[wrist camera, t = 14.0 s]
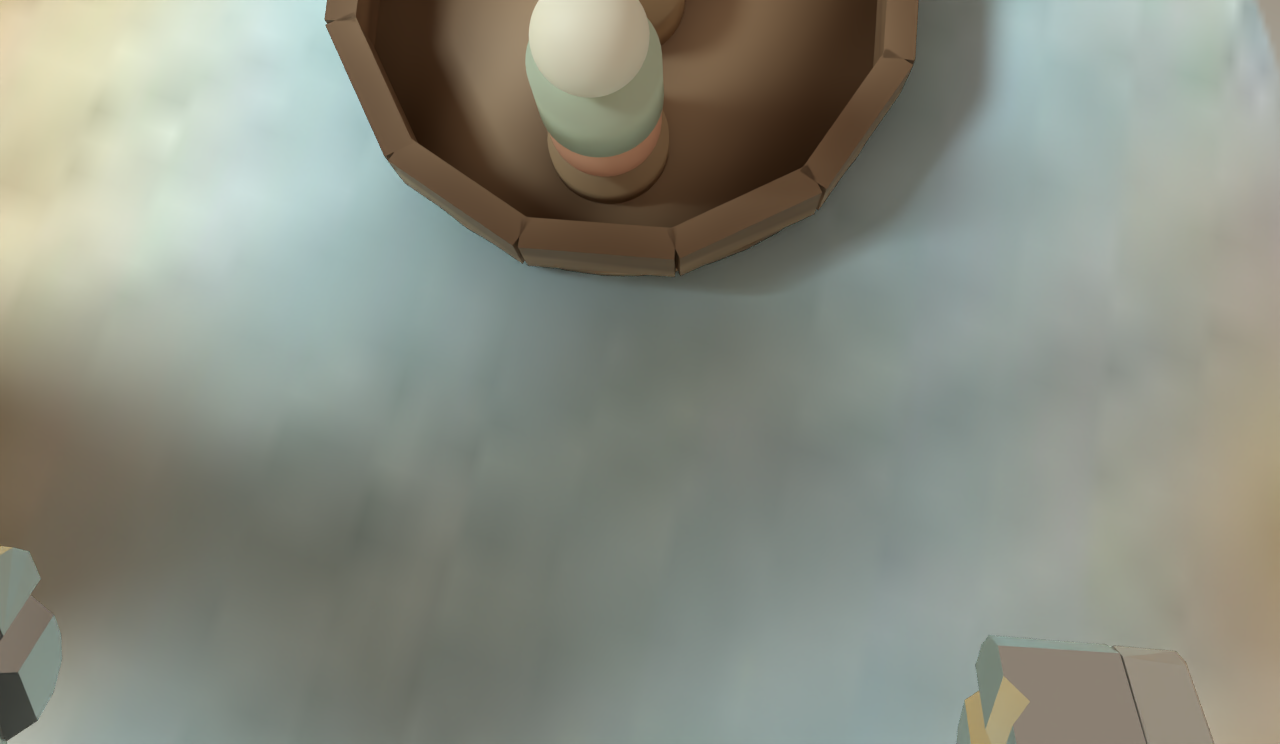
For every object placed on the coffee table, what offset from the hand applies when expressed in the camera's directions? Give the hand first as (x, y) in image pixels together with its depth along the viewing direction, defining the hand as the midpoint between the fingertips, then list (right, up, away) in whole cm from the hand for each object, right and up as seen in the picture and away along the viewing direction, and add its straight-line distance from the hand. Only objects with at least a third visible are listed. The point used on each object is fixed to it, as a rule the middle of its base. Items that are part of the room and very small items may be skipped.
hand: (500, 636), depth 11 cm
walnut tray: (+1, +15, +32) cm, 35 cm away
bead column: (0, +10, +31) cm, 32 cm away
